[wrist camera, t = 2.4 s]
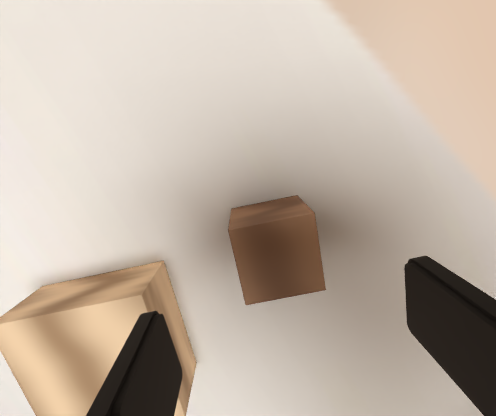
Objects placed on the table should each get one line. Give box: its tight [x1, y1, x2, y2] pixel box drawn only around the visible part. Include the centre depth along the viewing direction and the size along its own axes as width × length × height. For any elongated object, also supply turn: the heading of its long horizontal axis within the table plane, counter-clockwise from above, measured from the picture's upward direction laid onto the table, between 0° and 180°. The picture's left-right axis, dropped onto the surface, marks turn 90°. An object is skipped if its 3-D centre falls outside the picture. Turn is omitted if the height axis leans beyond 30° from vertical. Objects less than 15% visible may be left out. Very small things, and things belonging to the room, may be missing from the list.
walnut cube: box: [228, 195, 326, 305], centre depth 18 cm, size 5×5×5 cm
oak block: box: [0, 261, 197, 416], centre depth 20 cm, size 10×10×5 cm
